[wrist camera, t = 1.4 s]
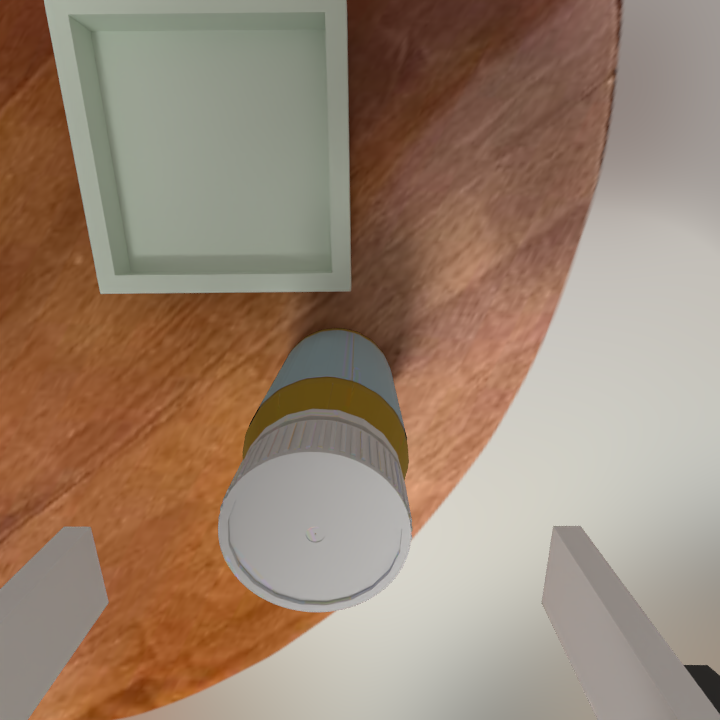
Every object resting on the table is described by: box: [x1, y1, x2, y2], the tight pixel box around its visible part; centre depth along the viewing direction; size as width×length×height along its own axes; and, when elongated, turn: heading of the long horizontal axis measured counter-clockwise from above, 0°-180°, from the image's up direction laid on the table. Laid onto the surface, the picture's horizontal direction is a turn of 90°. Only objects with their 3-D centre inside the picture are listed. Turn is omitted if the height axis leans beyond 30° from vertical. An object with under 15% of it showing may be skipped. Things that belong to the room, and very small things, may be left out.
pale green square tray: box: [44, 0, 351, 294], centre depth 22 cm, size 14×14×2 cm
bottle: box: [218, 328, 412, 612], centre depth 20 cm, size 7×7×15 cm
